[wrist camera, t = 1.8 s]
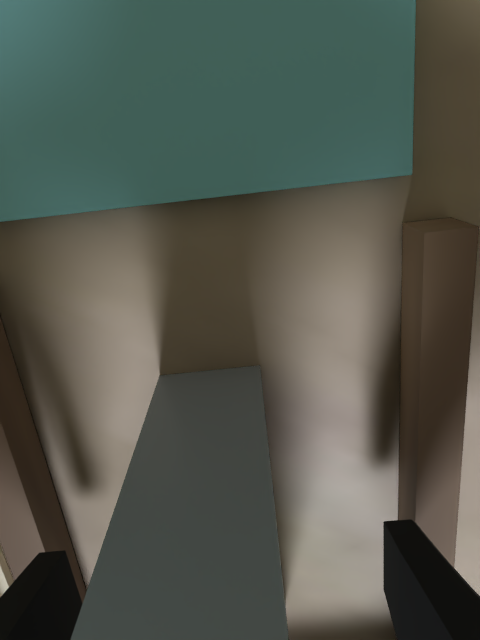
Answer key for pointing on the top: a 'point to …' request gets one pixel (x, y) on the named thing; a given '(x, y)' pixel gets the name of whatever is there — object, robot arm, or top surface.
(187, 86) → the mat
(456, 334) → the rack
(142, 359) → the top surface
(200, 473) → the block
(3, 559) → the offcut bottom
